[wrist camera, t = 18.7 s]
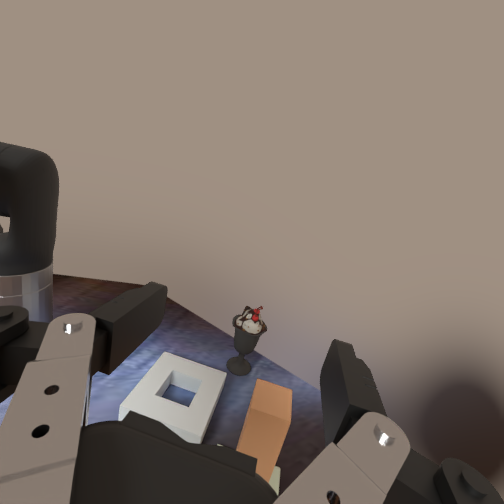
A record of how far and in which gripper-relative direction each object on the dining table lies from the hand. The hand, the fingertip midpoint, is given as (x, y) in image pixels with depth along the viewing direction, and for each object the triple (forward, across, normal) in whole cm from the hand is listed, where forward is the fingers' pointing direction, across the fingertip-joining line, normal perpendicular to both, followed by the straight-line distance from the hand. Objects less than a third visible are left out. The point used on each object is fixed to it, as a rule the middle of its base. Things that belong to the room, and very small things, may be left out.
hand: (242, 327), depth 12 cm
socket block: (+20, +9, +30) cm, 37 cm away
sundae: (+32, +2, +30) cm, 44 cm away
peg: (+12, -4, +29) cm, 32 cm away
